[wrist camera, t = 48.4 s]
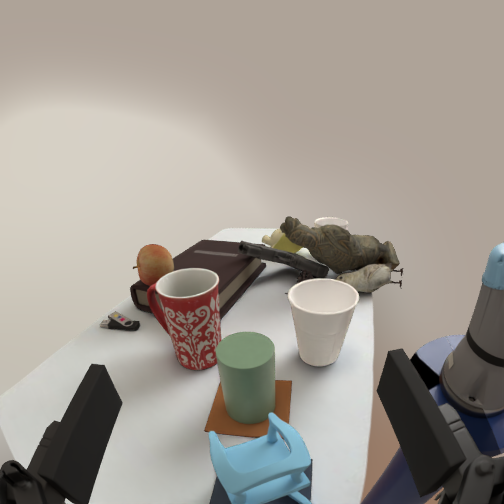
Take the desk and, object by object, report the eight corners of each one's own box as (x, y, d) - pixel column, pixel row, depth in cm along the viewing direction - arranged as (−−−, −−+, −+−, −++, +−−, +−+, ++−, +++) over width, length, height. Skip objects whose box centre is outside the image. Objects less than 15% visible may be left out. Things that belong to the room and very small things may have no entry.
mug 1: (238, 346, 47) (231, 272, 42) (209, 382, 39) (193, 303, 34) (178, 328, 52) (164, 261, 47) (146, 356, 45) (125, 284, 40)
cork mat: (291, 382, 39) (291, 380, 38) (287, 439, 29) (287, 438, 29) (222, 377, 40) (221, 376, 40) (204, 431, 31) (204, 430, 31)
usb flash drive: (135, 327, 51) (136, 331, 51) (145, 311, 56) (146, 315, 56) (98, 324, 52) (100, 328, 52) (110, 310, 57) (111, 314, 57)
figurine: (322, 294, 61) (323, 276, 59) (284, 294, 62) (284, 276, 60) (321, 282, 66) (322, 265, 64) (286, 282, 67) (285, 265, 65)
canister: (277, 389, 37) (276, 332, 33) (272, 426, 31) (271, 370, 28) (231, 386, 38) (222, 330, 34) (221, 421, 32) (208, 366, 29)
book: (200, 259, 83) (198, 239, 81) (266, 266, 76) (265, 244, 74) (134, 308, 59) (127, 283, 57) (212, 328, 52) (208, 300, 50)
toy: (276, 220, 91) (318, 216, 81) (283, 240, 93) (325, 238, 83) (250, 241, 83) (294, 239, 72) (259, 263, 85) (302, 263, 75)
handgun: (269, 270, 56) (235, 251, 65) (328, 279, 68) (293, 263, 77) (274, 256, 55) (239, 239, 64) (332, 268, 67) (297, 252, 77)
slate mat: (312, 459, 26) (312, 458, 26) (307, 536, 17) (307, 536, 17) (223, 454, 28) (223, 453, 28) (203, 526, 18) (202, 526, 18)
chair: (278, 454, 27) (279, 388, 23) (313, 509, 20) (332, 461, 15) (212, 476, 24) (188, 415, 20) (239, 537, 17) (221, 503, 13)
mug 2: (314, 248, 86) (314, 217, 82) (344, 248, 84) (345, 217, 81) (314, 264, 75) (315, 229, 71) (349, 265, 73) (351, 230, 70)
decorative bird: (339, 303, 57) (328, 288, 64) (406, 290, 58) (390, 277, 65) (339, 279, 56) (328, 265, 63) (408, 267, 56) (392, 255, 63)
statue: (375, 287, 72) (274, 271, 61) (368, 256, 76) (270, 233, 65) (407, 267, 63) (303, 243, 52) (396, 234, 68) (296, 202, 57)
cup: (331, 330, 49) (336, 273, 45) (361, 364, 40) (373, 302, 36) (278, 344, 47) (277, 285, 43) (302, 384, 38) (306, 321, 34)
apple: (179, 283, 53) (138, 285, 49) (167, 285, 60) (130, 287, 55) (176, 240, 54) (135, 240, 50) (164, 247, 61) (128, 248, 56)
